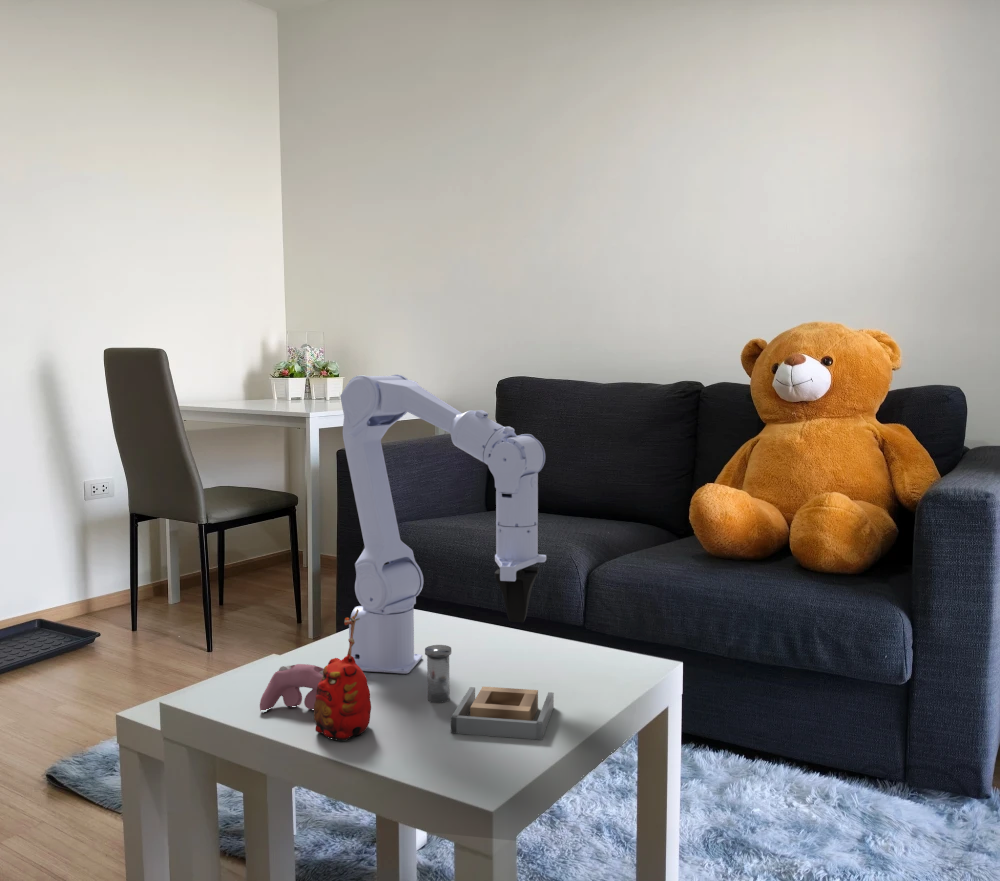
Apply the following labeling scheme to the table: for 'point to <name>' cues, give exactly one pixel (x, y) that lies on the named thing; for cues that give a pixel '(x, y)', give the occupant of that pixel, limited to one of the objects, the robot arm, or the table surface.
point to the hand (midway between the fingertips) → (517, 620)
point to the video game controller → (292, 686)
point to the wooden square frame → (505, 703)
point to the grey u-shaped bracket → (499, 721)
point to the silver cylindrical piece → (438, 673)
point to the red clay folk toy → (342, 696)
